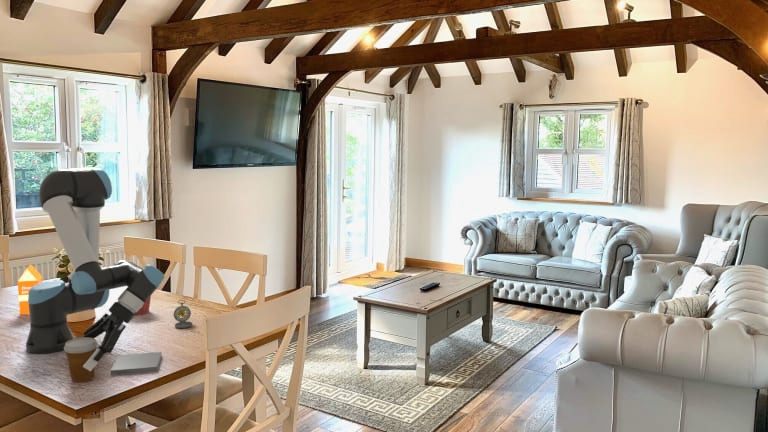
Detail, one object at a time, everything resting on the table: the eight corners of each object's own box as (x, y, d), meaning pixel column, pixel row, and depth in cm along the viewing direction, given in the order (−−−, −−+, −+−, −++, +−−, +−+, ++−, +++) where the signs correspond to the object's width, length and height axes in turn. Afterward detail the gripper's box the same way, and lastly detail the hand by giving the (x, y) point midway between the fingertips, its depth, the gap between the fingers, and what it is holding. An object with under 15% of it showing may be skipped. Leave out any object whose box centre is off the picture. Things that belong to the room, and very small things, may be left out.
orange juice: (44, 308, 268) (41, 263, 265) (40, 313, 259) (37, 267, 257) (24, 309, 265) (21, 264, 263) (19, 315, 257) (16, 269, 254)
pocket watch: (182, 330, 239) (181, 305, 238) (168, 326, 243) (167, 302, 242) (198, 324, 246) (197, 300, 245) (184, 321, 250) (183, 297, 249)
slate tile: (110, 374, 194) (110, 370, 194) (118, 359, 207) (118, 355, 207) (157, 371, 197) (156, 366, 197) (161, 355, 211) (161, 351, 211)
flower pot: (119, 314, 259) (118, 292, 257) (139, 307, 269) (138, 286, 268) (139, 317, 255) (137, 295, 254) (157, 310, 265) (156, 289, 264)
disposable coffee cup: (58, 381, 188) (56, 344, 187) (83, 370, 197) (81, 335, 195) (81, 386, 185) (79, 348, 183) (106, 375, 194) (104, 339, 192)
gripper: (149, 322, 190) (102, 380, 182) (121, 305, 209) (77, 358, 200) (131, 308, 186) (82, 368, 178) (104, 293, 204) (58, 346, 196)
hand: (79, 363), depth 189 cm, fingers open, 13 cm apart
